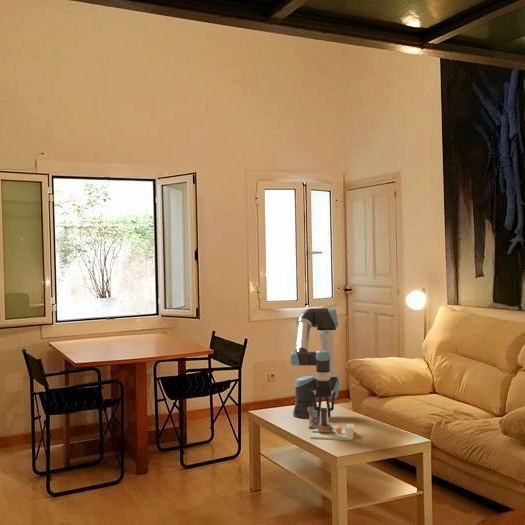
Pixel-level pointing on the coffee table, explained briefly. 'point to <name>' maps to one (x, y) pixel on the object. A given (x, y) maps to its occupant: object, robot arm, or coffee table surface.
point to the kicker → (324, 422)
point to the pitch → (330, 435)
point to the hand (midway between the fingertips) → (324, 423)
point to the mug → (313, 417)
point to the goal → (349, 429)
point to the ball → (338, 429)
